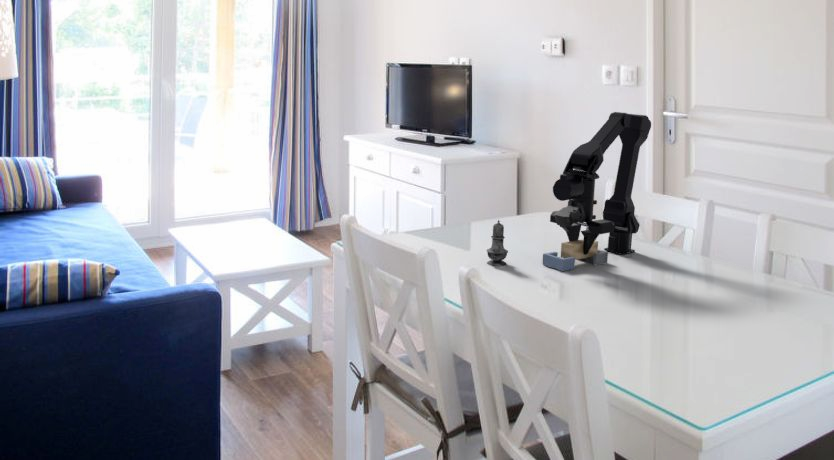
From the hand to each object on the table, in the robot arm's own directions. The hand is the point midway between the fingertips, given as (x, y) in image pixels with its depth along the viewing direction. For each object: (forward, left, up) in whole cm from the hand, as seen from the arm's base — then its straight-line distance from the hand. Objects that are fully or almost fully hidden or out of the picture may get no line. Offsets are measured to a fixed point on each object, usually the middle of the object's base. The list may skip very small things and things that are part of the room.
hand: (579, 252), depth 241 cm
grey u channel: (-5, 0, -3) cm, 6 cm away
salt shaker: (+20, -11, -3) cm, 23 cm away
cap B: (+8, 0, -3) cm, 9 cm away
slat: (0, 0, -1) cm, 1 cm away
